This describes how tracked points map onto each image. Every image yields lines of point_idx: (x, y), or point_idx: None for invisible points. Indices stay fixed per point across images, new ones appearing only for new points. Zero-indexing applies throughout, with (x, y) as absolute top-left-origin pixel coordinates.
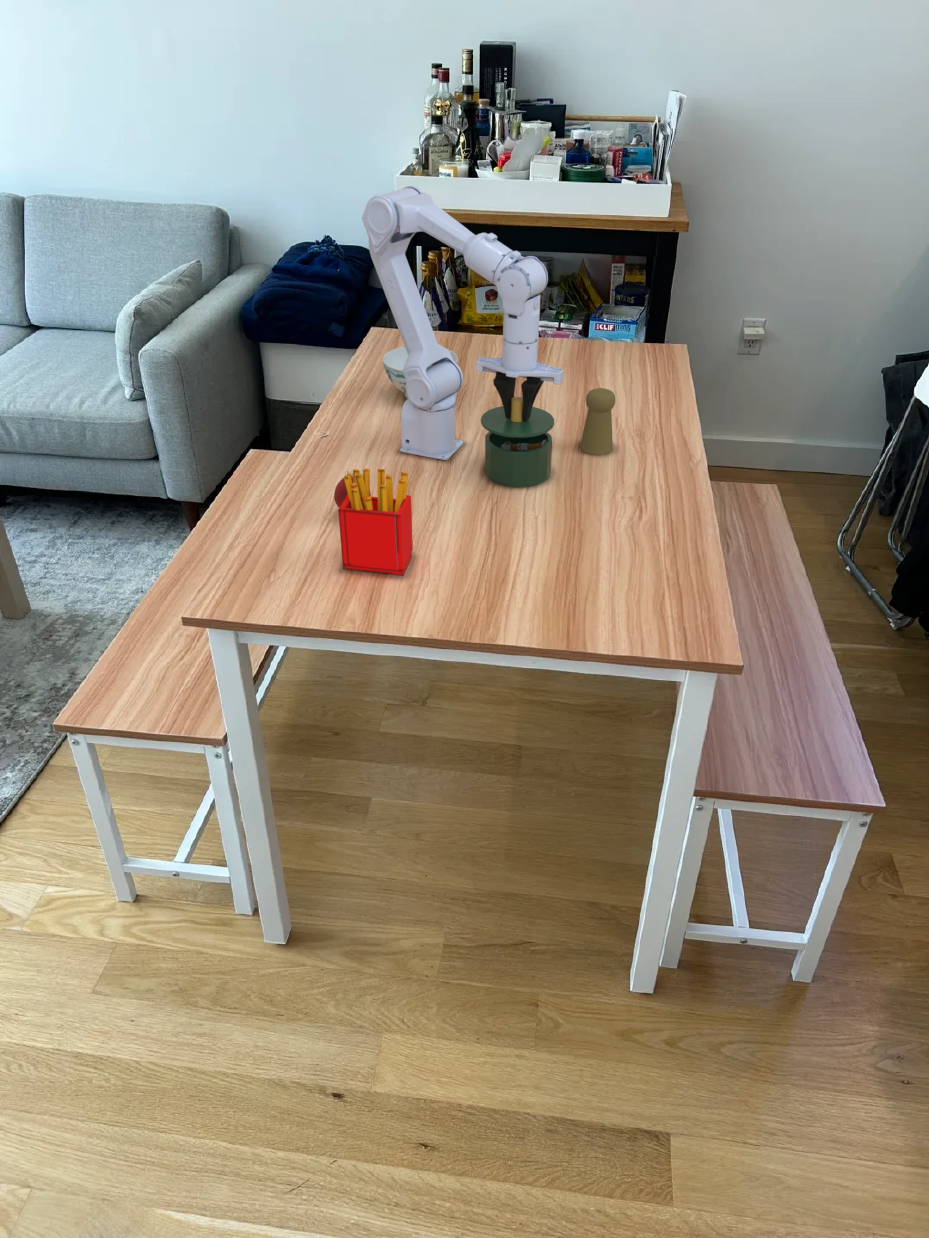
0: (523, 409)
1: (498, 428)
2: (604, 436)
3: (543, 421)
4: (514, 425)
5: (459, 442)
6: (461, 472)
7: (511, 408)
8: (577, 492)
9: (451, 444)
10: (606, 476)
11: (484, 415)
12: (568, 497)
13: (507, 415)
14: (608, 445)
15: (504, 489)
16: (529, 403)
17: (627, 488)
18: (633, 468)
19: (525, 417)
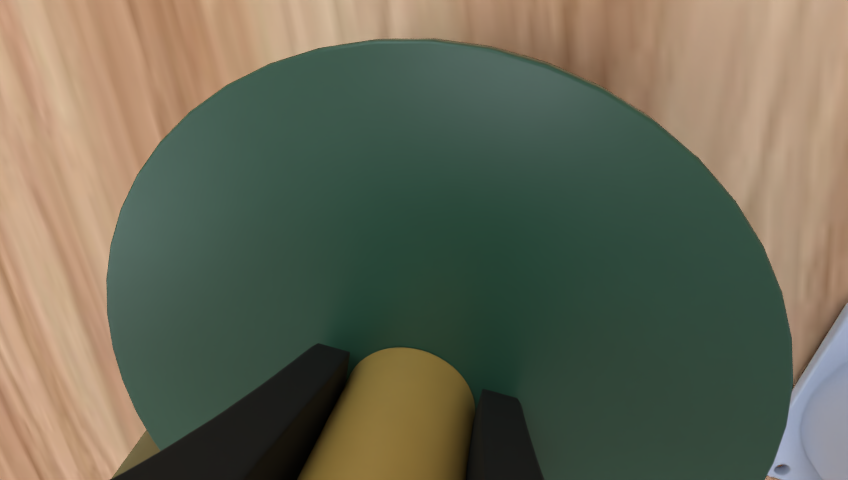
0: (277, 423)
1: (577, 182)
2: (129, 460)
3: (196, 379)
4: (414, 278)
5: (775, 459)
6: (763, 183)
7: (447, 477)
8: (162, 73)
9: (846, 404)
10: (108, 241)
11: (749, 464)
12: (182, 10)
13: (498, 411)
14: (143, 434)
15: (502, 25)
16: (132, 470)
17: (4, 153)
18: (49, 313)
19: (298, 362)
